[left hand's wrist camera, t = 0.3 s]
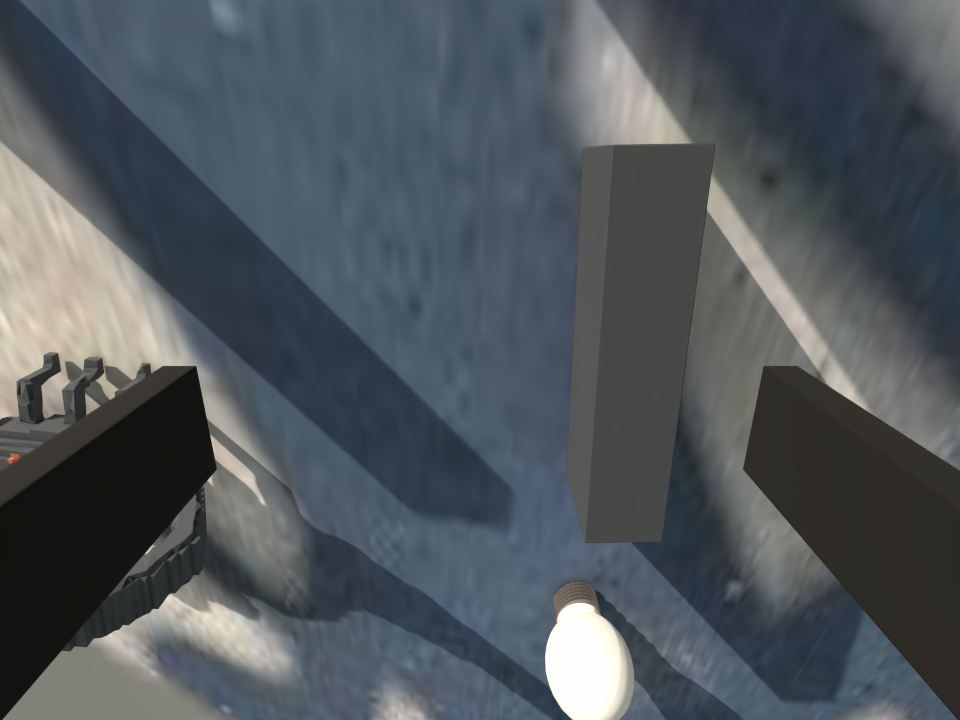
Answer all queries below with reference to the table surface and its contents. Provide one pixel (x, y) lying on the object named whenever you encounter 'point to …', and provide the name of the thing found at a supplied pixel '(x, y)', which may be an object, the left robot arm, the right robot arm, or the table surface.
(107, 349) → the table surface
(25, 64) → the table surface
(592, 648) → the light bulb
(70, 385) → the toy
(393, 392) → the table surface
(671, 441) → the bar
